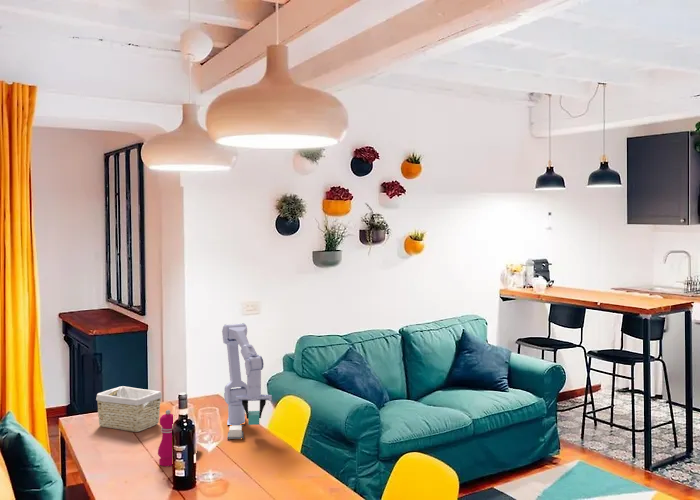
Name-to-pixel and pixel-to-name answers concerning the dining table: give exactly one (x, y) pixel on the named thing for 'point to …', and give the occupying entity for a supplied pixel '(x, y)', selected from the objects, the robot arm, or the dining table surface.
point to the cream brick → (235, 431)
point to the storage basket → (128, 408)
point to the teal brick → (253, 417)
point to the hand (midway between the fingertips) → (253, 417)
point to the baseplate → (234, 437)
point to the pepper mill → (166, 440)
